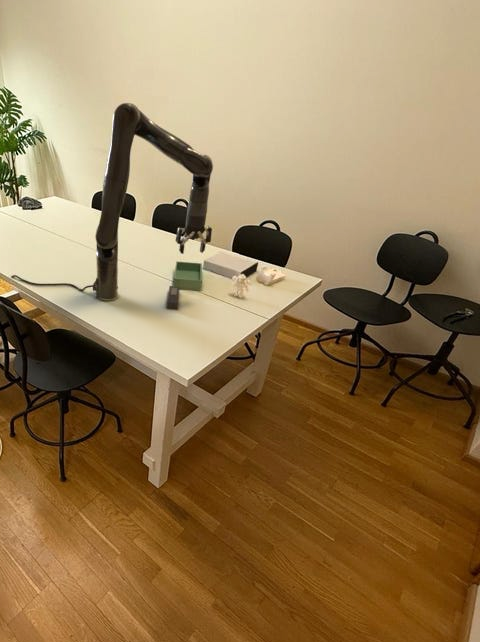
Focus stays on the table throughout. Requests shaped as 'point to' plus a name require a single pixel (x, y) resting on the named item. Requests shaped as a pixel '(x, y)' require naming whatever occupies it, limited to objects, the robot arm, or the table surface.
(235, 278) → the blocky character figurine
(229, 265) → the disc drive
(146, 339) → the table surface
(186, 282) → the bin
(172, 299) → the block
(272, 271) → the cream lumpy rounded piece
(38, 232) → the table surface
